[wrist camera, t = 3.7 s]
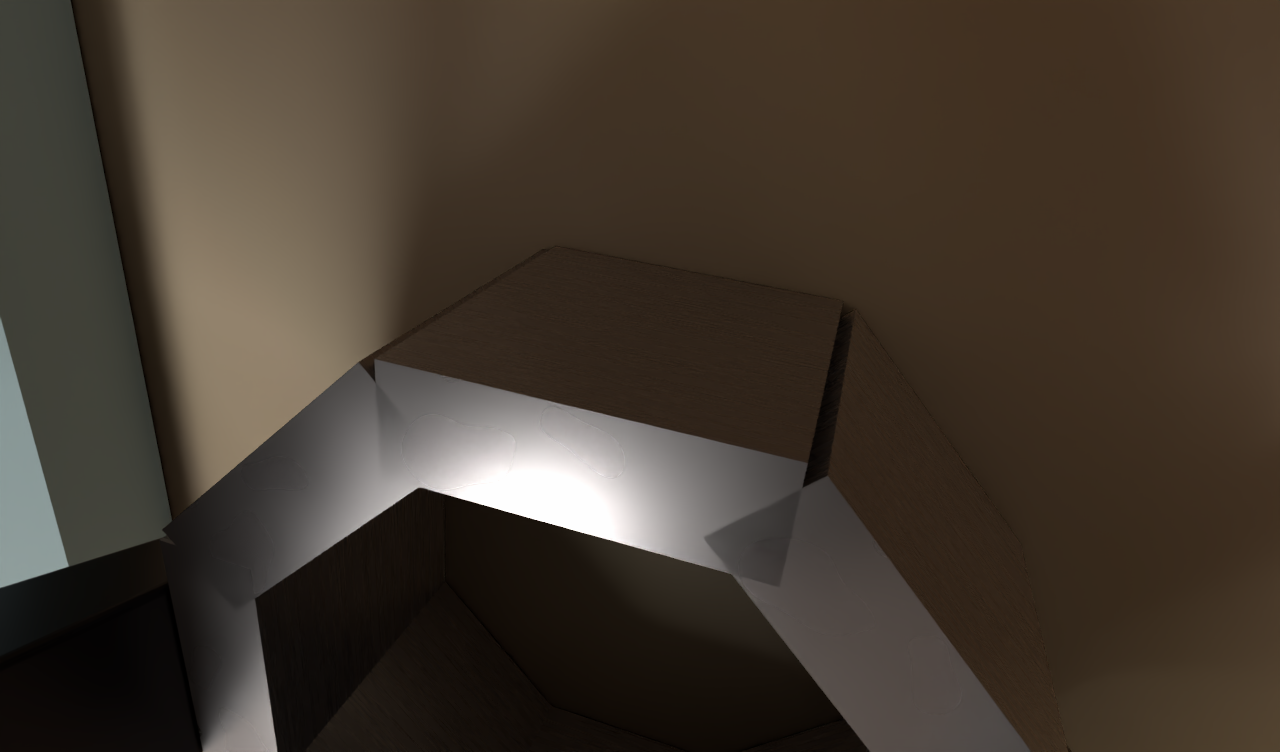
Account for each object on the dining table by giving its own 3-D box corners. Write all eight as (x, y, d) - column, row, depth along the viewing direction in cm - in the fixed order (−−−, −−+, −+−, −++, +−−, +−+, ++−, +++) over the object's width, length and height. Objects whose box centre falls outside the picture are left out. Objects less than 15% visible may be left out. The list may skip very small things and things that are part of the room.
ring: (896, 875, 10) (894, 1193, 7) (390, 698, 11) (234, 901, 9) (1101, 350, 7) (1234, 564, 4) (364, 210, 8) (109, 295, 6)
